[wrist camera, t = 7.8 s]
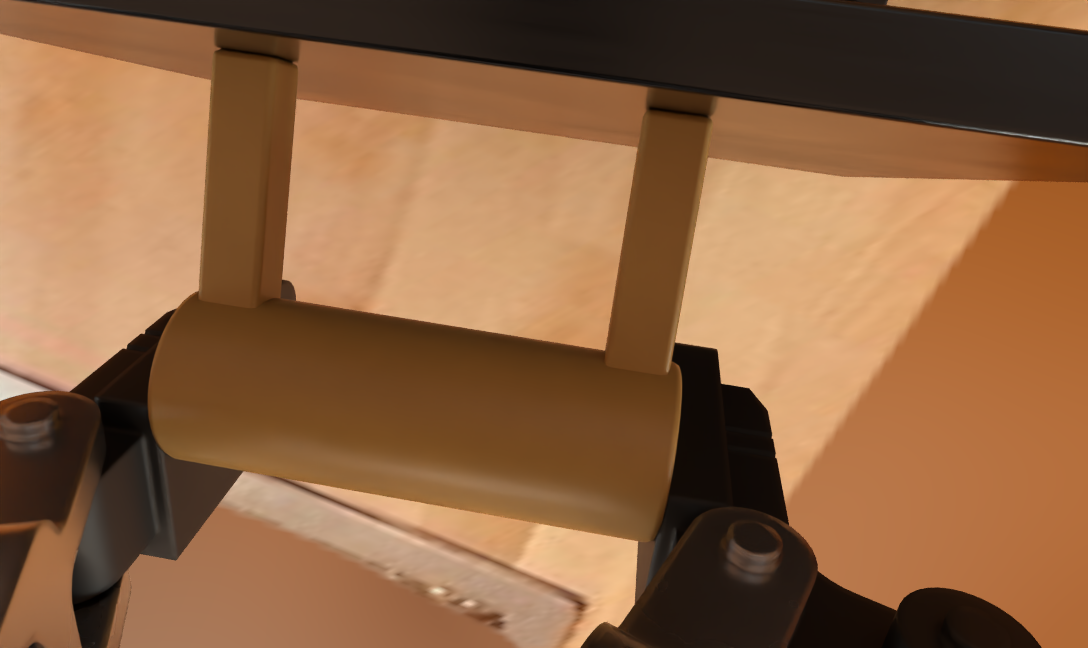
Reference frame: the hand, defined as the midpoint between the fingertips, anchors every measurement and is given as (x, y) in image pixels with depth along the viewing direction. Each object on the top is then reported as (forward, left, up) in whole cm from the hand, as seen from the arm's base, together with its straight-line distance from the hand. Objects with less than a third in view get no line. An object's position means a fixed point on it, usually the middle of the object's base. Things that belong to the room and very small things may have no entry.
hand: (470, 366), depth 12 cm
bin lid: (-4, 0, -4) cm, 5 cm away
